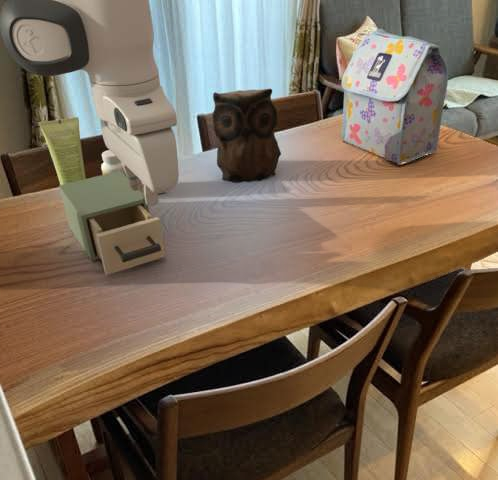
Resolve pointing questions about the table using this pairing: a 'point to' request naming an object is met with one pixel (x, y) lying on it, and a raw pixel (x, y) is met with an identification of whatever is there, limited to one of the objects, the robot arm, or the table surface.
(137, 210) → the drawer
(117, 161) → the supplement bottle
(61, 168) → the tube
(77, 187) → the cabinet
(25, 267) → the table surface
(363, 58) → the lunch bag
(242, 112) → the owl
